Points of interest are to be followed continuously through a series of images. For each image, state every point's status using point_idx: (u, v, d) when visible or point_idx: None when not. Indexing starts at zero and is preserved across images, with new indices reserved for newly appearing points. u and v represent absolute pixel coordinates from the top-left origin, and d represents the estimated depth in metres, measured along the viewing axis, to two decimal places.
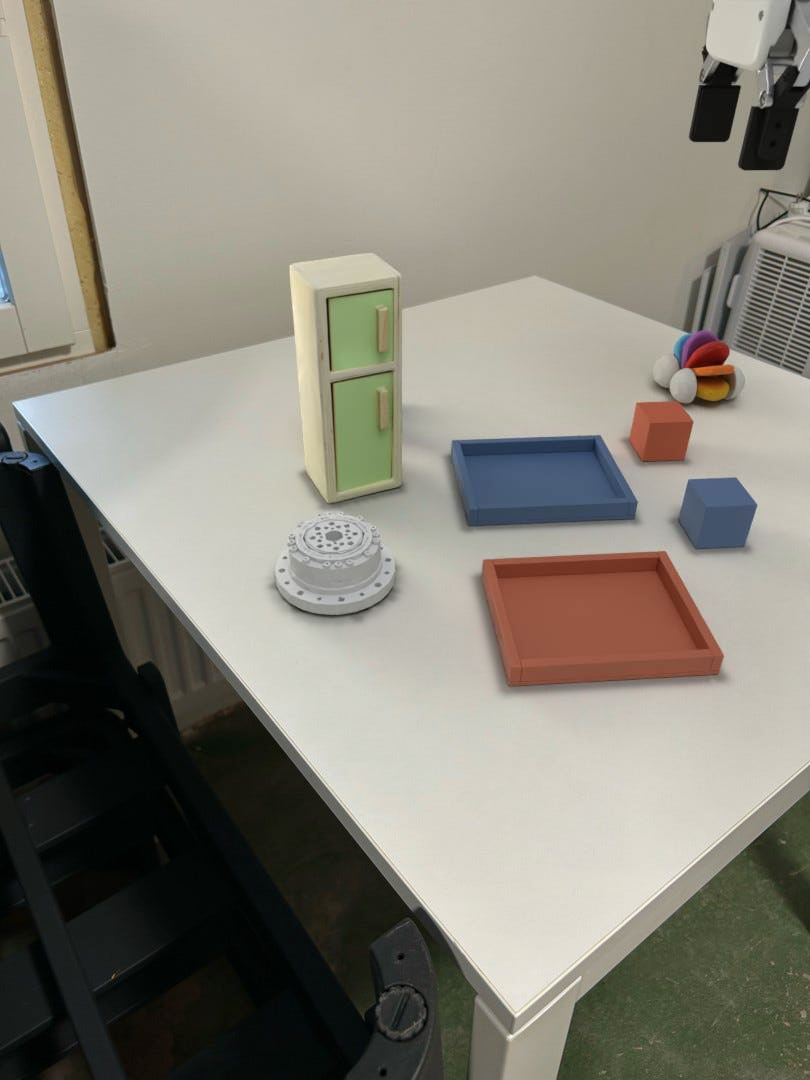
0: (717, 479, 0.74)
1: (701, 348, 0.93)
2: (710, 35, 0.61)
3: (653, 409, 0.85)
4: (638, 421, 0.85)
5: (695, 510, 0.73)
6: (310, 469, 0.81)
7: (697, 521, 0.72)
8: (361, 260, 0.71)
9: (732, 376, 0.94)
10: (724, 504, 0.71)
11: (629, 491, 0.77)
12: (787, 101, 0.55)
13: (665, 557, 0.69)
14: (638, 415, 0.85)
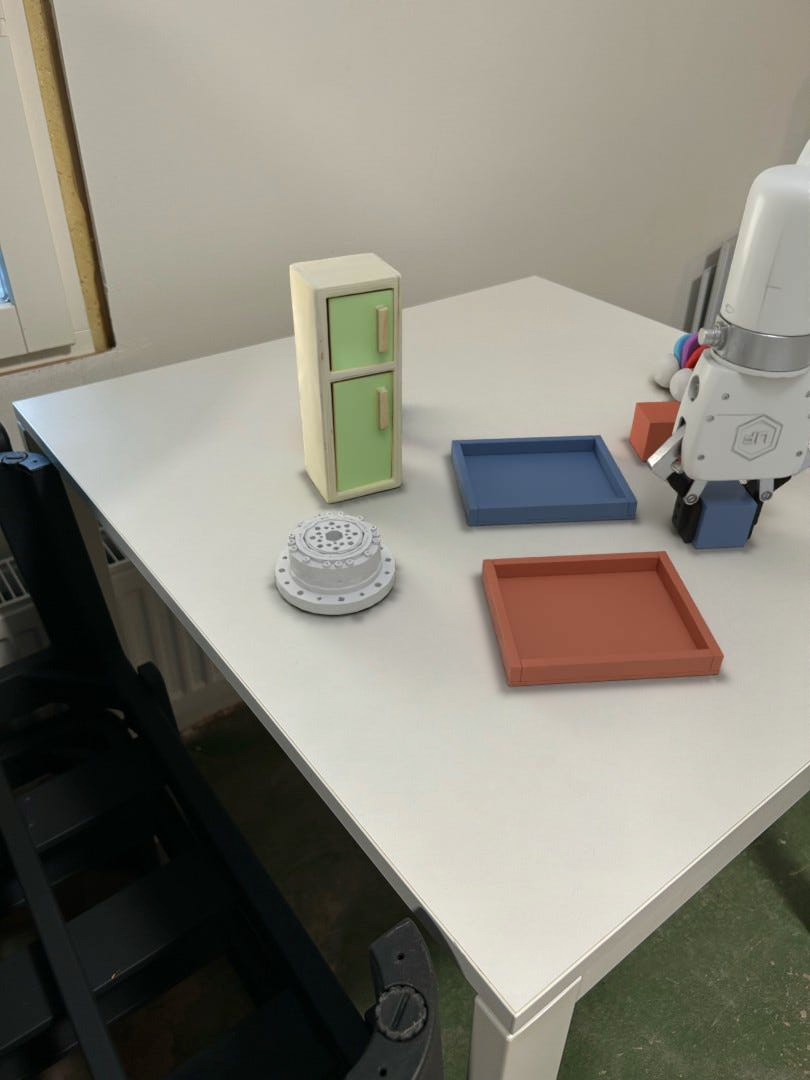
0: None
1: (701, 348, 0.93)
2: None
3: (653, 409, 0.85)
4: (638, 421, 0.85)
5: None
6: (310, 469, 0.81)
7: None
8: (361, 260, 0.71)
9: None
10: (724, 504, 0.71)
11: (629, 491, 0.77)
12: None
13: (665, 557, 0.69)
14: (638, 415, 0.85)
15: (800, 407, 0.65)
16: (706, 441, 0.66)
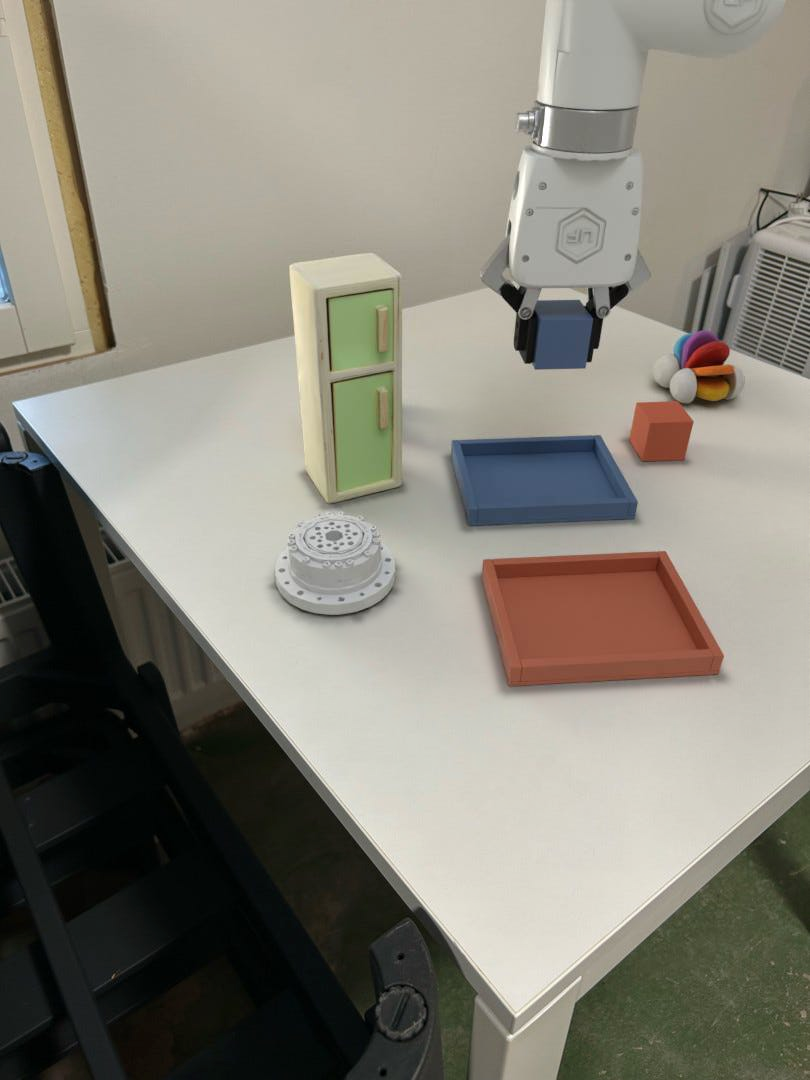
0: (559, 300, 0.72)
1: (701, 348, 0.93)
2: None
3: (653, 409, 0.85)
4: (638, 421, 0.85)
5: None
6: (310, 469, 0.81)
7: None
8: (361, 260, 0.71)
9: (732, 376, 0.94)
10: (559, 318, 0.69)
11: (629, 491, 0.77)
12: None
13: (665, 557, 0.69)
14: (638, 415, 0.85)
15: (622, 201, 0.63)
16: (528, 239, 0.64)
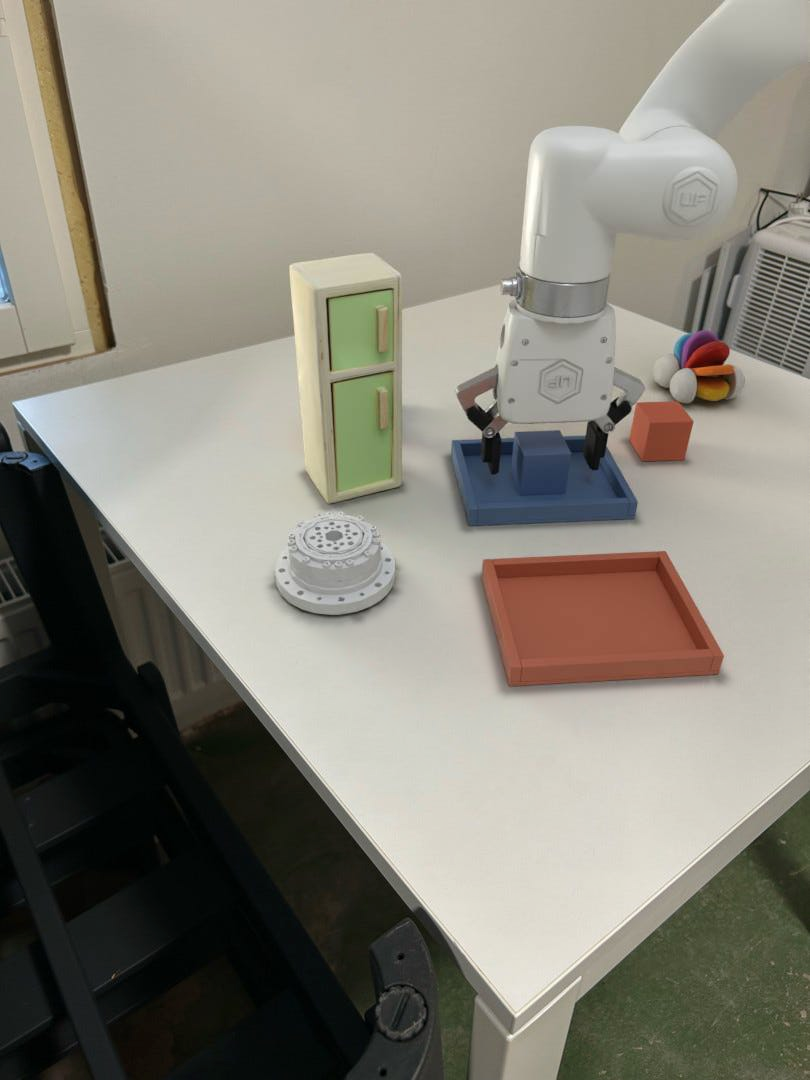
0: (541, 432, 0.80)
1: (701, 348, 0.93)
2: None
3: (653, 409, 0.85)
4: (638, 421, 0.85)
5: (518, 460, 0.78)
6: (310, 469, 0.81)
7: (519, 470, 0.78)
8: (361, 260, 0.71)
9: (732, 376, 0.94)
10: (540, 453, 0.76)
11: (629, 491, 0.77)
12: None
13: (665, 557, 0.69)
14: (638, 415, 0.85)
15: (597, 352, 0.70)
16: (514, 385, 0.71)
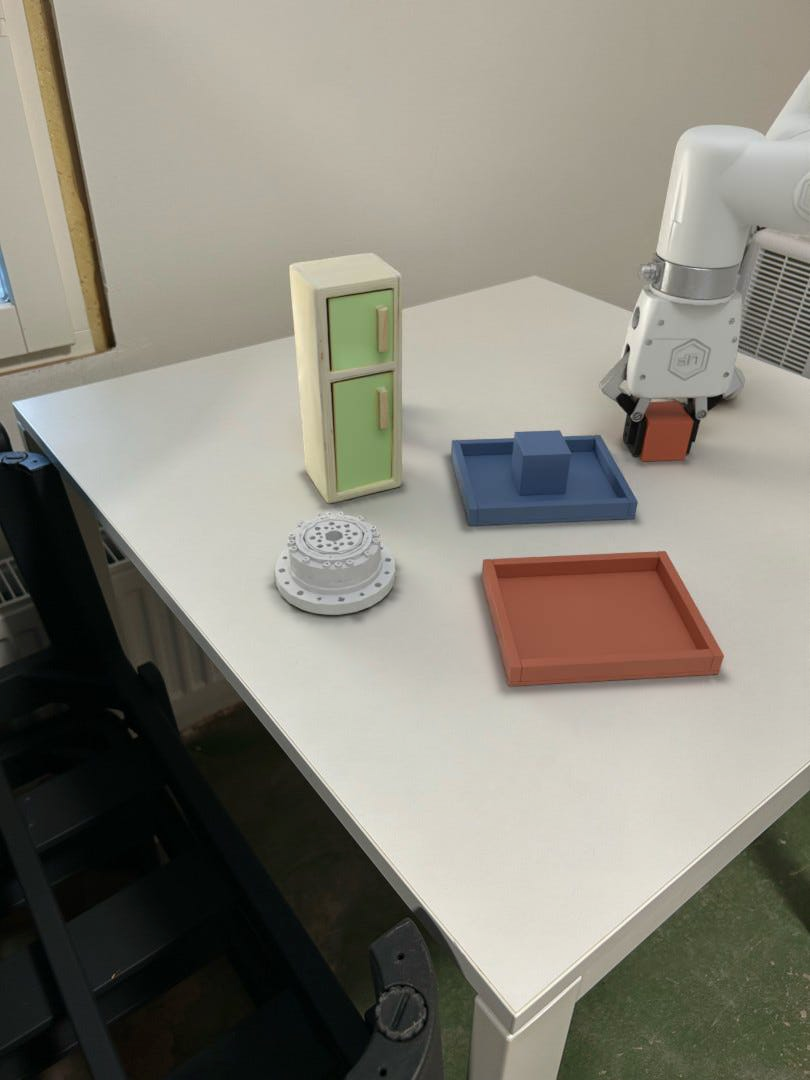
0: (541, 432, 0.80)
1: None
2: None
3: (653, 409, 0.85)
4: None
5: (518, 460, 0.78)
6: (310, 469, 0.81)
7: (519, 470, 0.78)
8: (361, 260, 0.71)
9: None
10: (540, 453, 0.76)
11: (629, 491, 0.77)
12: None
13: (665, 557, 0.69)
14: None
15: (724, 332, 0.77)
16: (646, 362, 0.78)
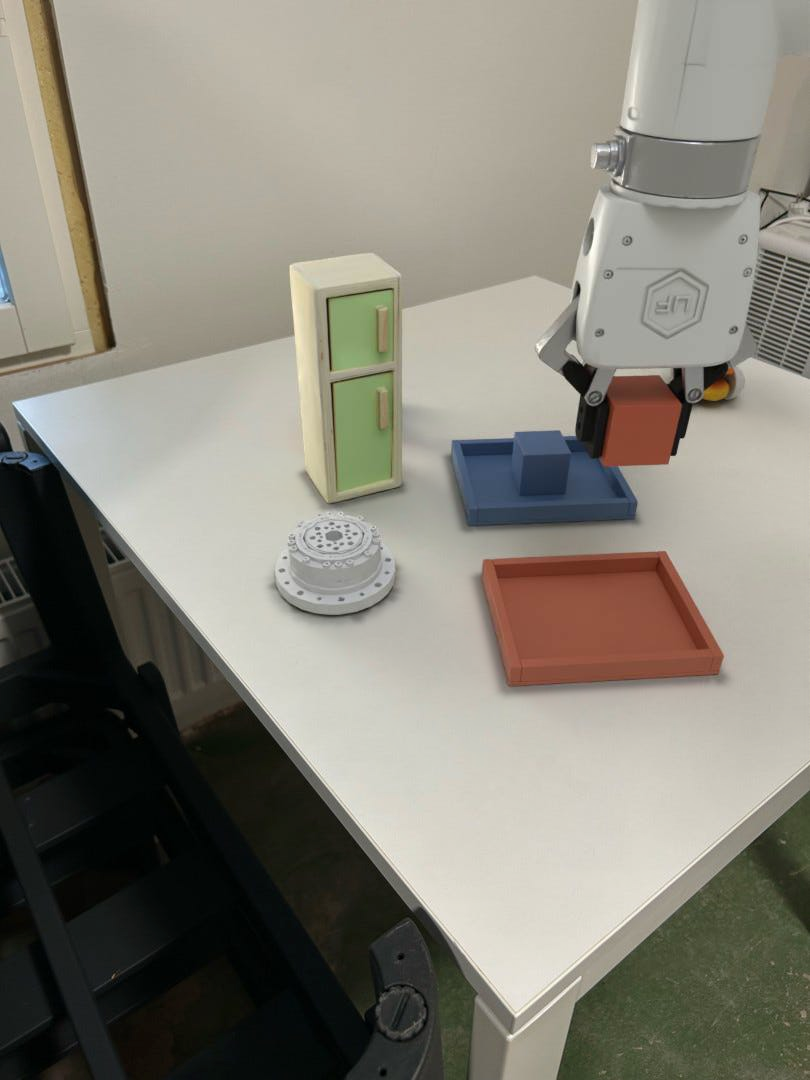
0: (541, 432, 0.80)
1: None
2: None
3: (620, 387, 0.55)
4: None
5: (518, 460, 0.78)
6: (310, 469, 0.81)
7: (519, 470, 0.78)
8: (361, 260, 0.71)
9: (732, 376, 0.94)
10: (540, 453, 0.76)
11: (629, 491, 0.77)
12: None
13: (665, 557, 0.69)
14: None
15: (732, 259, 0.47)
16: (605, 308, 0.48)
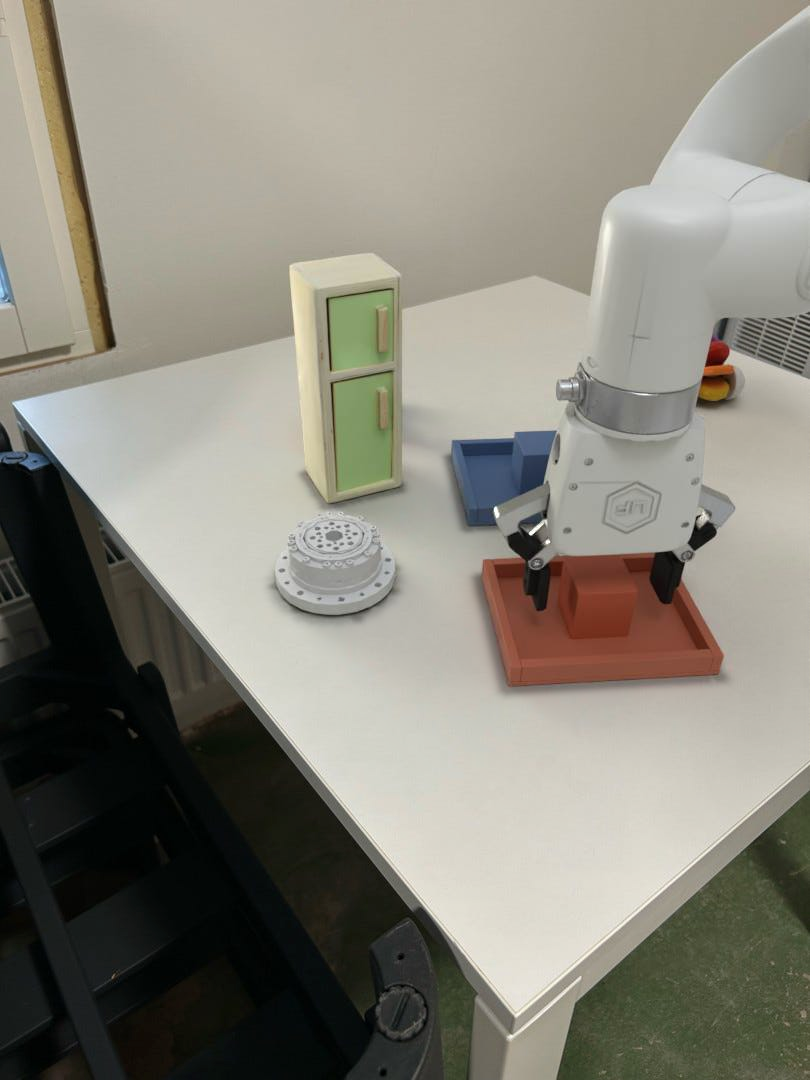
0: (541, 432, 0.80)
1: None
2: None
3: (585, 569, 0.62)
4: (566, 583, 0.63)
5: (518, 460, 0.78)
6: (310, 469, 0.81)
7: (519, 470, 0.78)
8: (361, 260, 0.71)
9: (732, 376, 0.94)
10: (540, 453, 0.76)
11: None
12: None
13: None
14: (566, 575, 0.63)
15: (680, 473, 0.54)
16: (571, 512, 0.55)
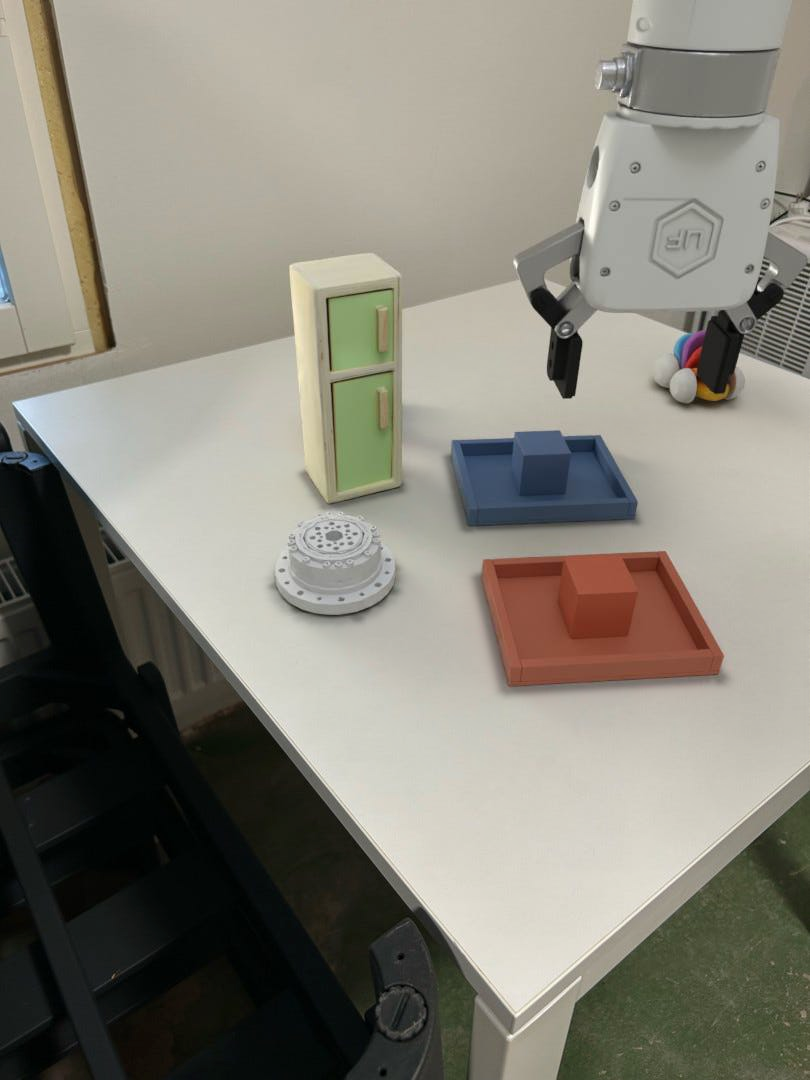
0: (541, 432, 0.80)
1: (701, 348, 0.93)
2: None
3: (585, 569, 0.62)
4: (566, 583, 0.63)
5: (518, 460, 0.78)
6: (310, 469, 0.81)
7: (519, 470, 0.78)
8: (361, 260, 0.71)
9: (732, 376, 0.94)
10: (540, 453, 0.76)
11: (629, 491, 0.77)
12: None
13: (665, 557, 0.69)
14: (566, 575, 0.63)
15: (748, 188, 0.44)
16: (611, 244, 0.45)
